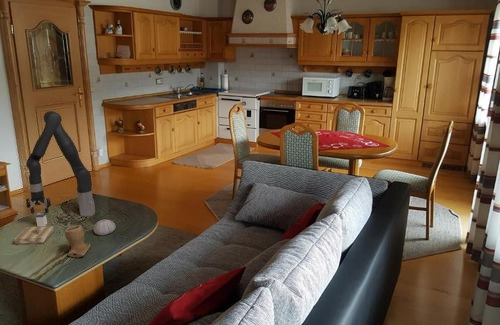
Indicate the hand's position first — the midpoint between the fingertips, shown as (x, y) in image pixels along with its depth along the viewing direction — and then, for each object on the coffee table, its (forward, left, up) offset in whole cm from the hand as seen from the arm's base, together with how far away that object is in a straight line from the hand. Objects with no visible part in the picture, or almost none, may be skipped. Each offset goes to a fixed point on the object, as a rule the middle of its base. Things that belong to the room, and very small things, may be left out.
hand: (39, 213), depth 265 cm
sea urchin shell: (-44, +14, -9) cm, 47 cm away
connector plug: (0, 0, -8) cm, 8 cm away
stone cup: (-36, +40, -9) cm, 55 cm away
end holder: (-4, +20, -8) cm, 22 cm away
